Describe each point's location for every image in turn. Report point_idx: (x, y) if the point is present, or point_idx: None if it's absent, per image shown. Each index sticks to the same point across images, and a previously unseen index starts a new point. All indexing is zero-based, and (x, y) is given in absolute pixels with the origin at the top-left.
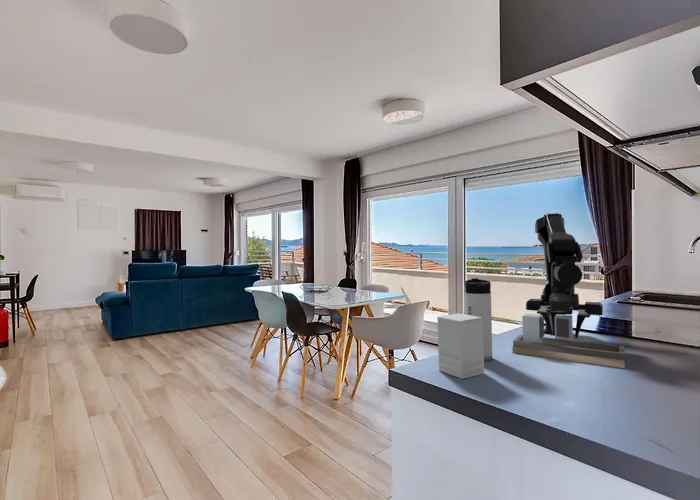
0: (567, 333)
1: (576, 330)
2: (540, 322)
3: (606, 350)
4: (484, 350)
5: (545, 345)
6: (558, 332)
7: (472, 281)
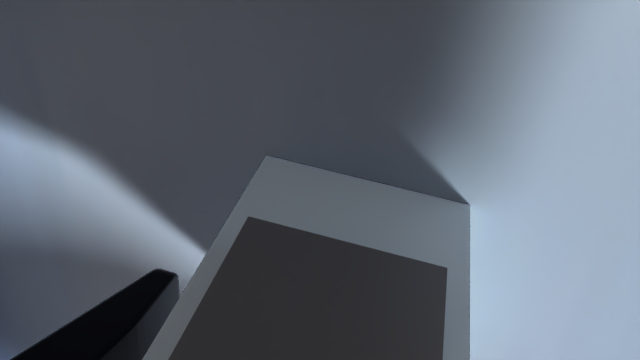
0: (241, 274)
1: (84, 352)
2: None
3: None
4: None
5: None
6: (404, 320)
7: None
